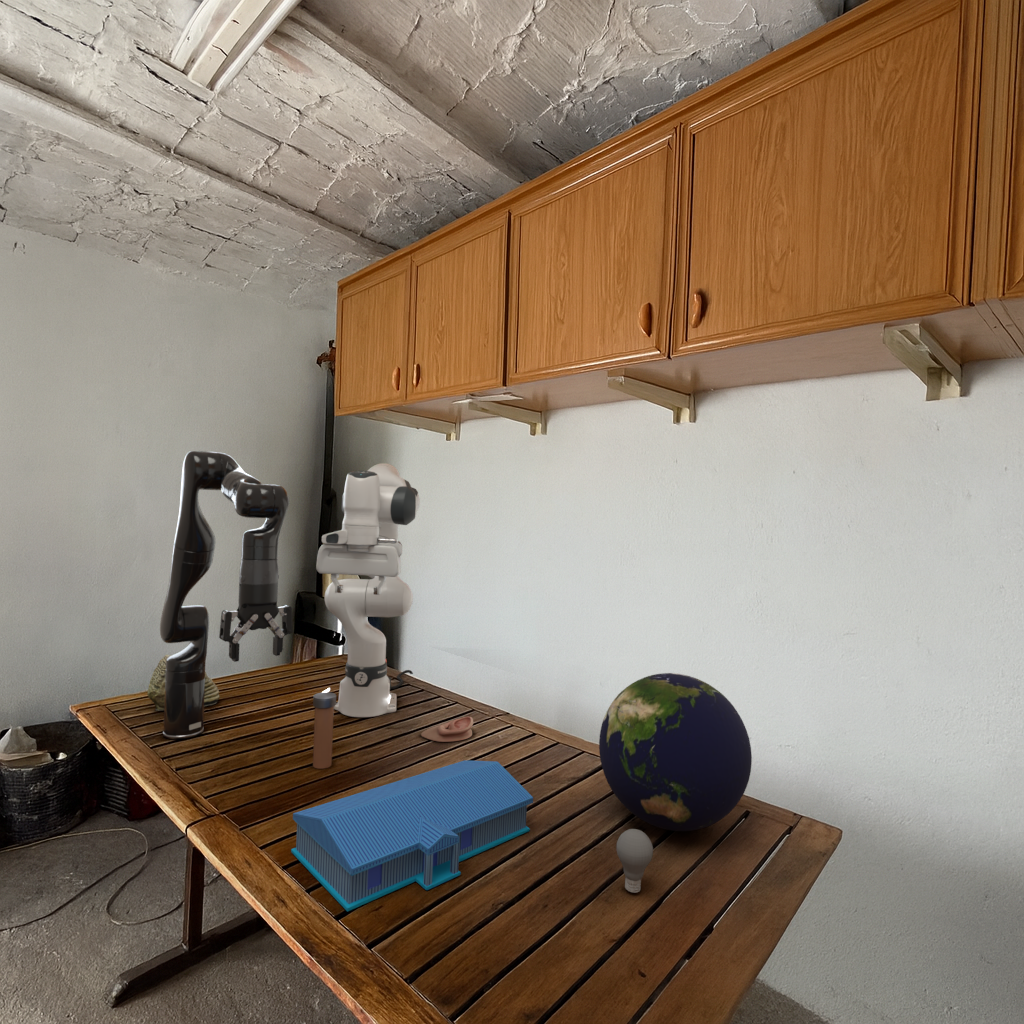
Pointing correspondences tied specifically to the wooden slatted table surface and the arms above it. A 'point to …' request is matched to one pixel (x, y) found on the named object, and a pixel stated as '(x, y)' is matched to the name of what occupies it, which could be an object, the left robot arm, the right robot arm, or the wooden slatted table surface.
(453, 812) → the model building
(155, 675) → the fossil
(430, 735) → the anatomical model
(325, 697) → the lid
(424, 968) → the wooden slatted table surface
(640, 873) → the light bulb
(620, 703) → the globe
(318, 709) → the brown cylinder
